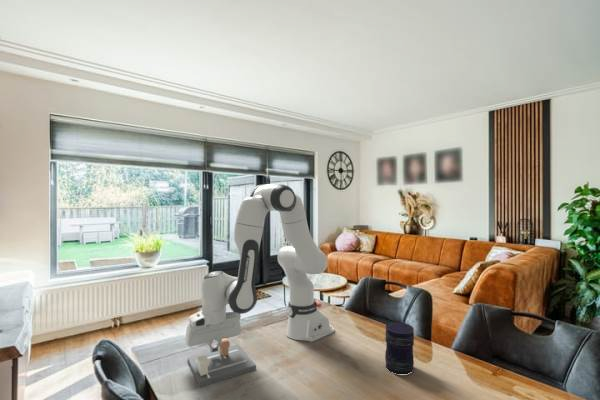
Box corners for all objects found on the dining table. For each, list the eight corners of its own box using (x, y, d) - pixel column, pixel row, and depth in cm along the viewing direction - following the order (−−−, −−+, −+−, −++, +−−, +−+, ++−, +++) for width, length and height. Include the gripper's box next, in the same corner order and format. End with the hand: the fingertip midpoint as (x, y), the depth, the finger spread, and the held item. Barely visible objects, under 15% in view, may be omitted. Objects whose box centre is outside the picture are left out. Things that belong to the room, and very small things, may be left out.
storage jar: (399, 378, 107) (399, 335, 107) (379, 364, 116) (379, 324, 116) (419, 371, 112) (420, 329, 111) (399, 358, 121) (399, 319, 120)
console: (238, 347, 128) (238, 343, 128) (255, 369, 113) (255, 364, 113) (187, 361, 118) (187, 357, 118) (199, 387, 103) (199, 382, 103)
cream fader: (205, 367, 110) (205, 355, 110) (209, 374, 106) (209, 360, 106) (197, 370, 109) (196, 357, 109) (200, 376, 105) (200, 363, 105)
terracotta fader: (225, 349, 123) (225, 337, 123) (229, 354, 119) (229, 342, 119) (218, 351, 122) (218, 339, 122) (221, 356, 118) (221, 344, 118)
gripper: (237, 307, 126) (237, 341, 127) (184, 317, 116) (184, 354, 116) (243, 312, 121) (243, 347, 121) (188, 323, 110) (188, 362, 111)
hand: (214, 351), depth 119 cm, fingers closed
